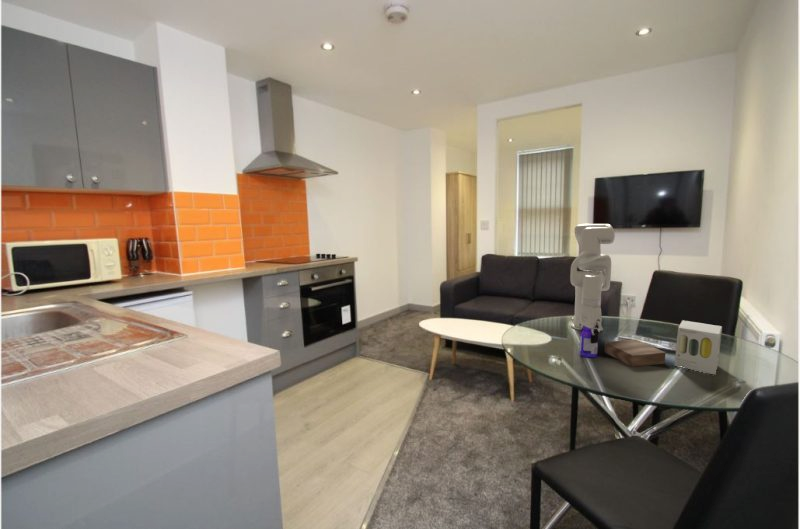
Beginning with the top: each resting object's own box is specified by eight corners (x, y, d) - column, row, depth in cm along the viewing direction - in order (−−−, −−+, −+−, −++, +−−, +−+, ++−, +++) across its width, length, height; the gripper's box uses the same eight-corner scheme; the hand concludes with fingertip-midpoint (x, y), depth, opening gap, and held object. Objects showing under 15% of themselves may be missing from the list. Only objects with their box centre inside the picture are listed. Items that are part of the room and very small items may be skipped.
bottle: (593, 353, 164) (595, 317, 161) (599, 358, 158) (601, 321, 156) (577, 353, 164) (579, 317, 162) (582, 358, 159) (584, 321, 156)
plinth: (604, 352, 165) (605, 342, 164) (634, 349, 167) (635, 339, 166) (631, 366, 149) (632, 355, 148) (664, 363, 151) (665, 352, 151)
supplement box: (673, 366, 148) (677, 326, 146) (678, 357, 157) (682, 319, 155) (715, 376, 139) (720, 334, 136) (718, 365, 148) (722, 326, 145)
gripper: (571, 298, 165) (569, 334, 168) (597, 307, 149) (594, 348, 151) (585, 297, 166) (583, 333, 169) (612, 306, 150) (610, 346, 152)
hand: (589, 339), depth 160 cm, fingers closed on bottle, 5 cm apart
